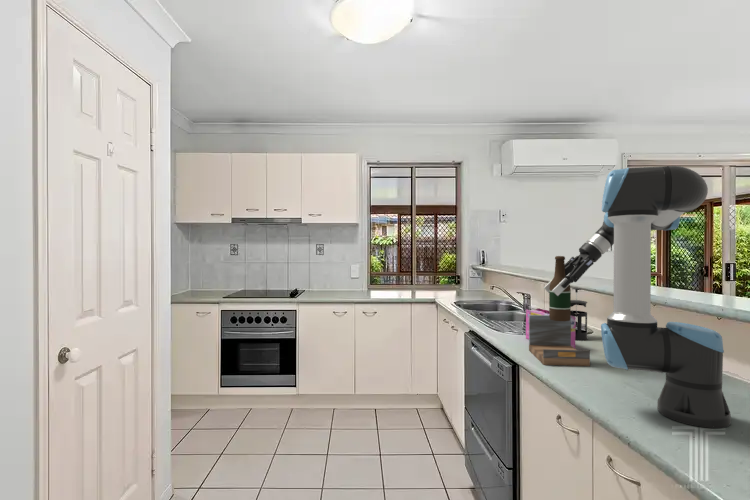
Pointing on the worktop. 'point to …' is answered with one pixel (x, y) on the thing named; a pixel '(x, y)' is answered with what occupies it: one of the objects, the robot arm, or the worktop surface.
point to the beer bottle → (562, 302)
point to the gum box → (546, 312)
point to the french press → (579, 318)
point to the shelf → (554, 342)
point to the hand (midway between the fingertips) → (550, 291)
